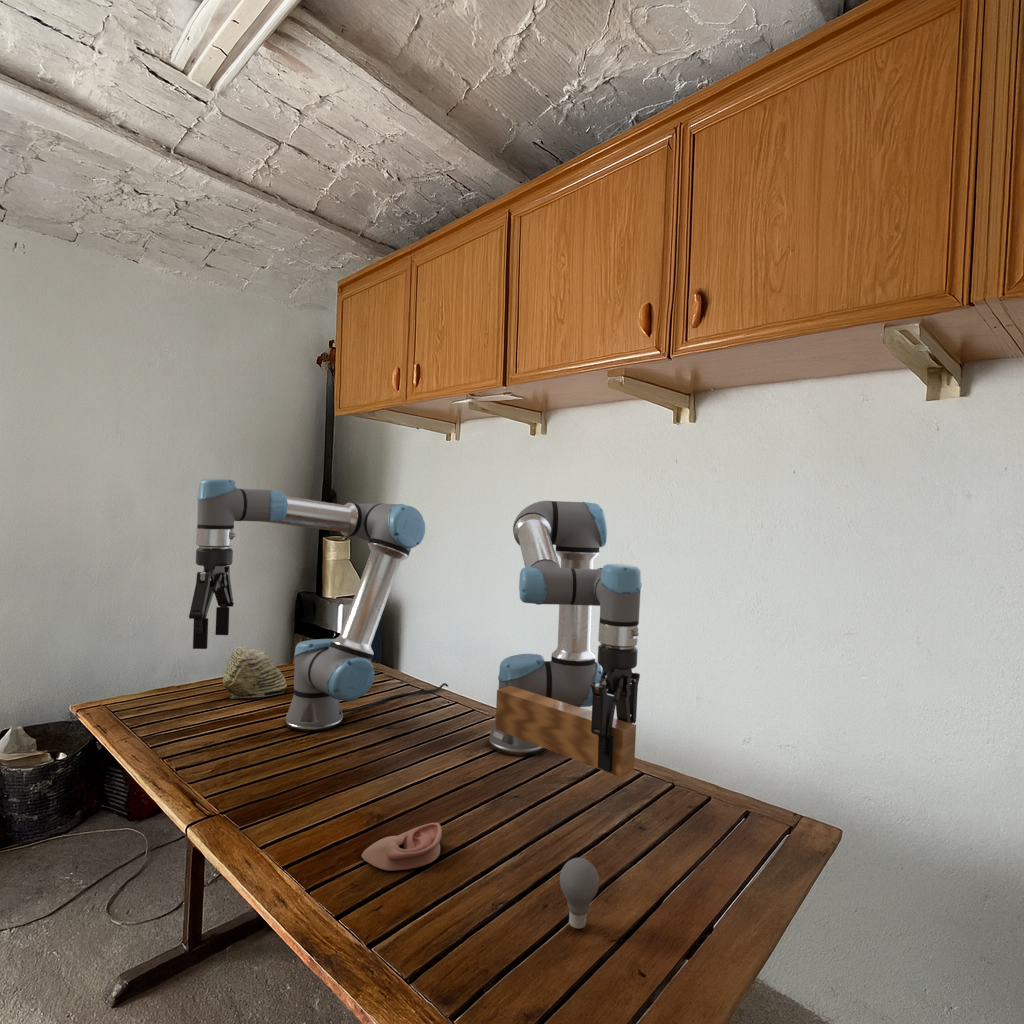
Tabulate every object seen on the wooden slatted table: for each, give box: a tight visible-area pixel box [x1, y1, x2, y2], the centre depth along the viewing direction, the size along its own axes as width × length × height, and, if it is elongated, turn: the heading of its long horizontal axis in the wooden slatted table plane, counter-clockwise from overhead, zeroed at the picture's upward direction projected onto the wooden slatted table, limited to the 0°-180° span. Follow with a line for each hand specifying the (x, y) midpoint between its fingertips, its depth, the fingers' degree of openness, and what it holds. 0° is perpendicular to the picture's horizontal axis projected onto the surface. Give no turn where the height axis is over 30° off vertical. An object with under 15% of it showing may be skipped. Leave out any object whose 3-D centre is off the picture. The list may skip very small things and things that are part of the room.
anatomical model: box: [361, 822, 443, 872], centre depth 114 cm, size 13×4×12 cm
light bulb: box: [559, 857, 600, 929], centre depth 96 cm, size 6×6×10 cm
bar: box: [495, 686, 637, 778], centre depth 131 cm, size 33×5×9 cm, turn 47°
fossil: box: [222, 646, 288, 699], centre depth 198 cm, size 9×18×15 cm, turn 132°
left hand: (211, 641), depth 143 cm, fingers open, 13 cm apart
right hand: (612, 765), depth 122 cm, fingers closed on bar, 5 cm apart
